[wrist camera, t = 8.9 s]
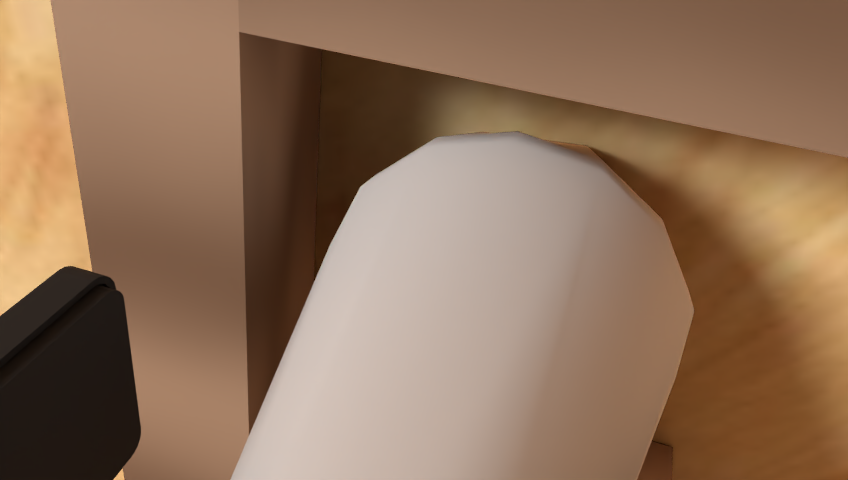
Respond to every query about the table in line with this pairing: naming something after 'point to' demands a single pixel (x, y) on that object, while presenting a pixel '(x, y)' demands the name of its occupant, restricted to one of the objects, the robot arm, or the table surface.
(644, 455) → the salt shaker
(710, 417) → the table surface
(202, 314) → the notched board
